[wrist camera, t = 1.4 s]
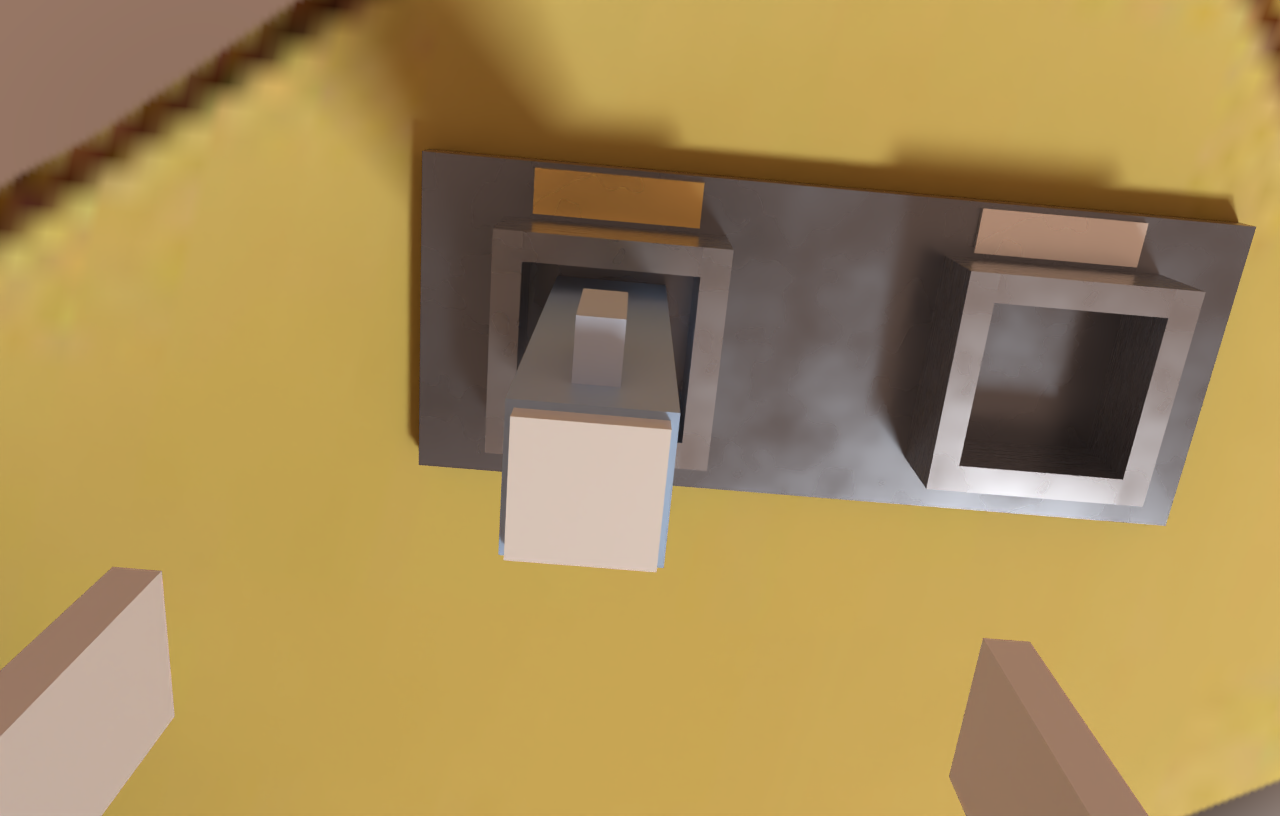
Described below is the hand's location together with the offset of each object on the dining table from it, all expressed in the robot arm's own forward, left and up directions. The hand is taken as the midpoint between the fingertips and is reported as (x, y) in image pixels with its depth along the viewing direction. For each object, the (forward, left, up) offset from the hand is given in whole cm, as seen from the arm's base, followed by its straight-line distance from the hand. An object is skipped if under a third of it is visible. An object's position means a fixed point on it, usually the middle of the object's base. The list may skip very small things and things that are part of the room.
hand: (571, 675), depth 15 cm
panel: (+8, 0, -22) cm, 24 cm away
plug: (0, 0, -21) cm, 21 cm away
